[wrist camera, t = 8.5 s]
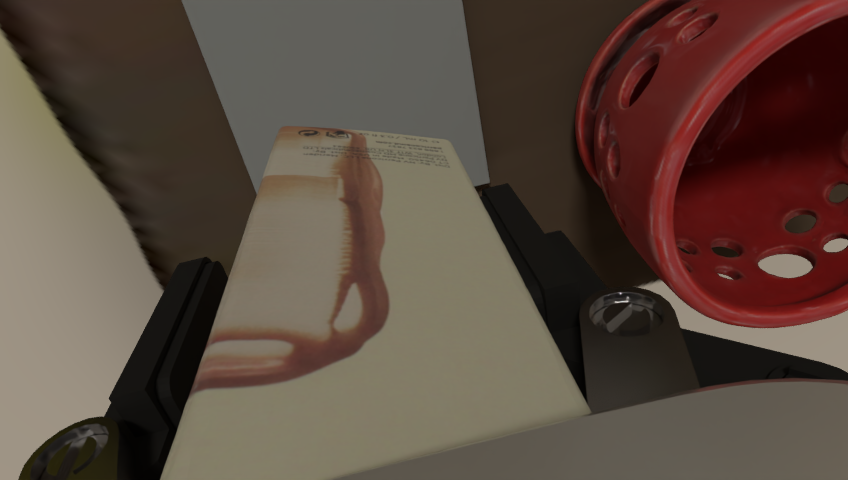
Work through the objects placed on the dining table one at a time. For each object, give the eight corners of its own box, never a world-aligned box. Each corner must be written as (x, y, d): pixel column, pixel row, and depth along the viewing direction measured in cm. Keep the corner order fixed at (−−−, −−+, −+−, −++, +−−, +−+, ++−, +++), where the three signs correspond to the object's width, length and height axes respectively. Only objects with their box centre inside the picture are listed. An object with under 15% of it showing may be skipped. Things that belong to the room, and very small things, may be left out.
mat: (449, -68, 24) (451, -68, 23) (487, 178, 30) (489, 182, 29) (183, -6, 24) (179, -5, 23) (274, 230, 29) (272, 235, 29)
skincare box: (272, 119, 13) (123, 498, 4) (454, 135, 13) (673, 478, 5) (272, 304, 15) (178, 801, 6) (427, 308, 16) (538, 754, 7)
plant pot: (704, -103, 25) (973, -144, 14) (817, 96, 30) (1071, 173, 20) (493, 105, 28) (585, 197, 17) (630, 251, 33) (762, 388, 23)
